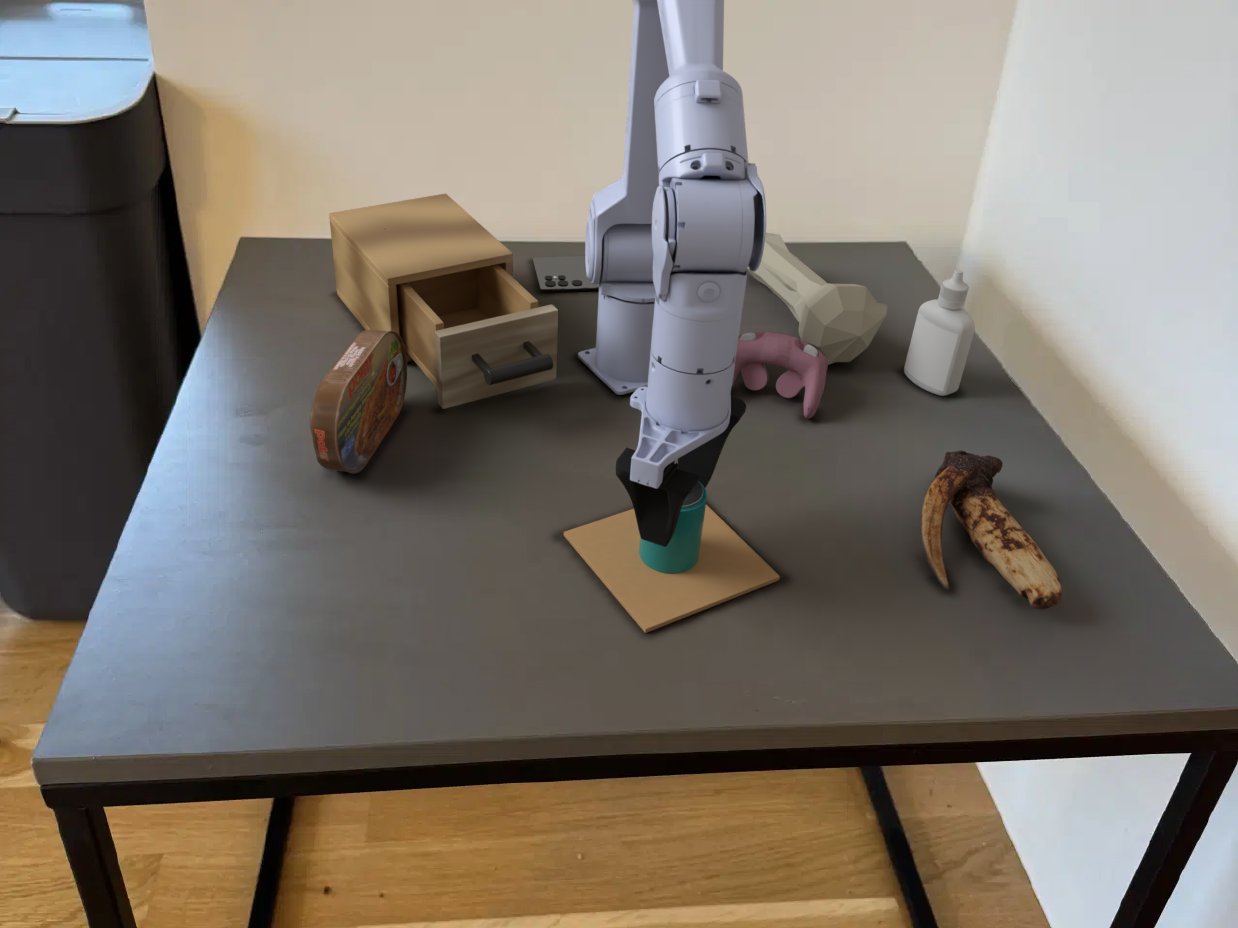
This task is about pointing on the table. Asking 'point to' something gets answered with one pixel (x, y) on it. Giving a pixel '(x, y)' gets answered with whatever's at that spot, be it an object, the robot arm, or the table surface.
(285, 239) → the table surface
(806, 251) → the table surface
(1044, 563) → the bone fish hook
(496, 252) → the cabinet
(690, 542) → the can
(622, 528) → the mat
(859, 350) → the faceted club
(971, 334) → the eye dropper bottle
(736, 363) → the video game controller
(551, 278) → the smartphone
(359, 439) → the tin
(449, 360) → the drawer
